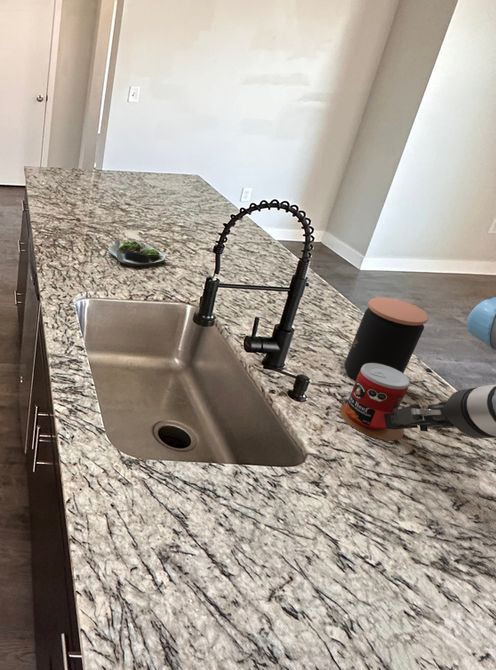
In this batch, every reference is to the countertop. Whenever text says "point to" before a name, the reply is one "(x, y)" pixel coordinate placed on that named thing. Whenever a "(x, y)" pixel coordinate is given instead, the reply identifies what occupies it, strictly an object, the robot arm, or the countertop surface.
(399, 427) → the robot arm
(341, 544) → the countertop surface
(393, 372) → the canned food
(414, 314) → the coffee jar
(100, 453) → the countertop surface
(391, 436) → the cork coaster
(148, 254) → the salad plate
